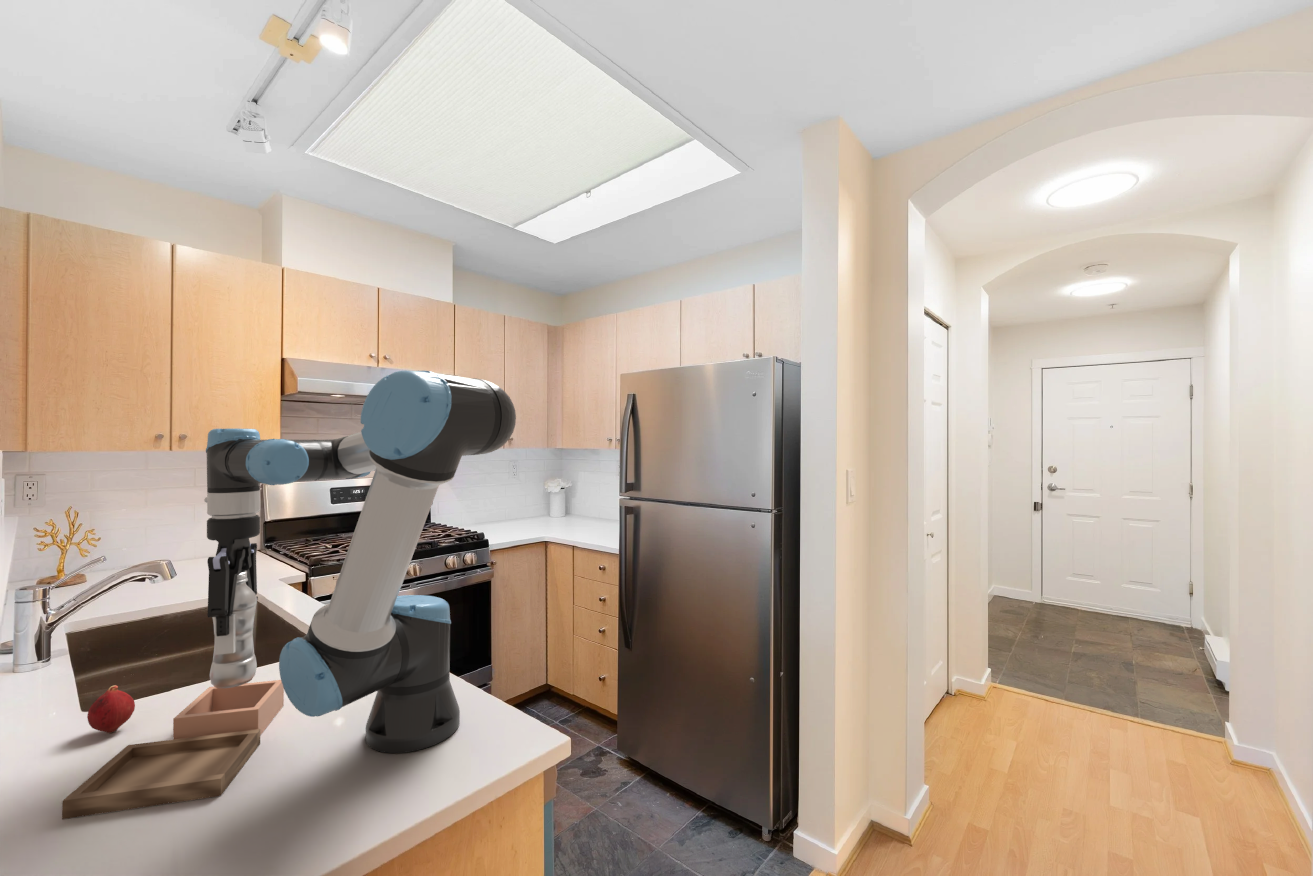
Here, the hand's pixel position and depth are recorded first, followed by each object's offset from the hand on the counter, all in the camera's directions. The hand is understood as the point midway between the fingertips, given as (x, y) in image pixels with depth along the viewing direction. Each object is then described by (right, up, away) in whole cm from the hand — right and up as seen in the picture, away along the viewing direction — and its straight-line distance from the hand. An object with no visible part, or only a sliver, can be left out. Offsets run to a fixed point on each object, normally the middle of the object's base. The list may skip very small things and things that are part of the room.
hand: (233, 646), depth 98 cm
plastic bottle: (0, -7, 0) cm, 7 cm away
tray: (+2, -14, -15) cm, 21 cm away
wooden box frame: (0, -14, 0) cm, 14 cm away
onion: (-19, -14, -2) cm, 24 cm away
